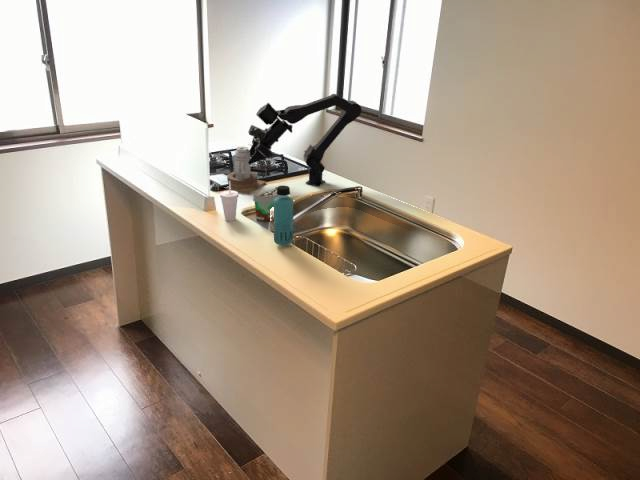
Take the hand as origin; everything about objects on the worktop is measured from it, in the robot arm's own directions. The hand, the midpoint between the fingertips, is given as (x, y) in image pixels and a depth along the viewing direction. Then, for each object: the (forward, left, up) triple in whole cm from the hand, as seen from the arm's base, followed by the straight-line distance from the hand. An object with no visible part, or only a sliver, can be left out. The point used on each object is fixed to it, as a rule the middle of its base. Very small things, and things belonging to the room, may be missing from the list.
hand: (248, 160), depth 215 cm
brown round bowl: (+1, -2, -11) cm, 11 cm away
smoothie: (+32, +12, -11) cm, 36 cm away
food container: (+25, +25, -11) cm, 37 cm away
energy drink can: (+1, -2, -10) cm, 10 cm away
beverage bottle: (+42, +39, -11) cm, 58 cm away
